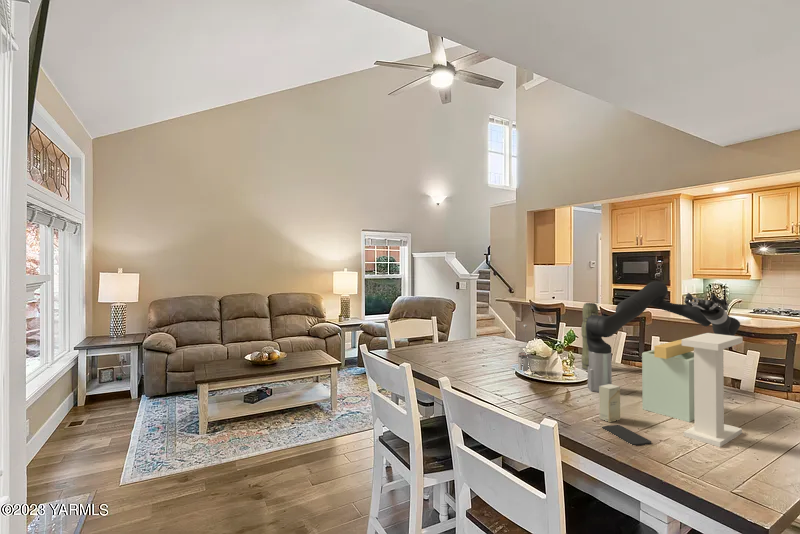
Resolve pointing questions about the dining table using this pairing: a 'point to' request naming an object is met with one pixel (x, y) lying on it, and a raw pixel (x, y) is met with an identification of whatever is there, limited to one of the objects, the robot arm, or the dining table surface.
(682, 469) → the dining table surface
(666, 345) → the box
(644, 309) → the robot arm
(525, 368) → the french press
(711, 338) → the shelf stand
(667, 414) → the tote
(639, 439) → the phone
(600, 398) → the skincare box
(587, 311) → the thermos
